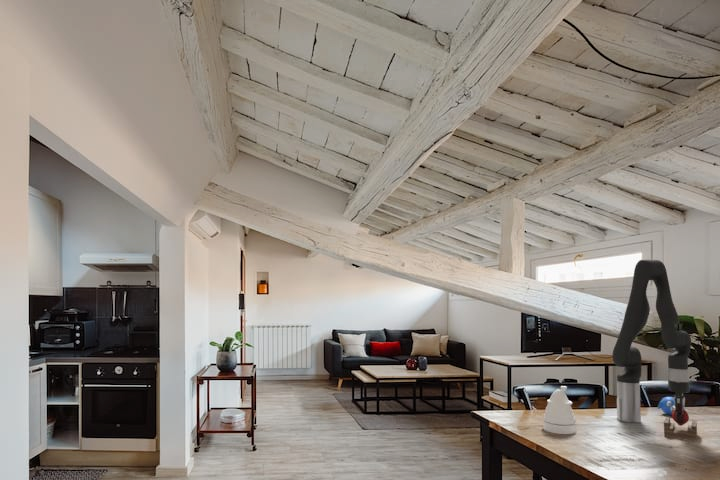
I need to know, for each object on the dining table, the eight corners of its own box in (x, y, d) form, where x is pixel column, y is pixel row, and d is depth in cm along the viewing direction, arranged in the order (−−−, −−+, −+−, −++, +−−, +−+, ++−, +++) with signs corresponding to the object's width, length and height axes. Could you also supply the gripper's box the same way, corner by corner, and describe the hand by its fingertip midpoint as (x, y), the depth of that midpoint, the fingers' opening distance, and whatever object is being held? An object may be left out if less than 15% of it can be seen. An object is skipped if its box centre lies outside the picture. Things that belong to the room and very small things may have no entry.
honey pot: (576, 428, 225) (576, 385, 226) (575, 435, 213) (574, 389, 215) (545, 424, 230) (544, 382, 232) (541, 431, 218) (541, 387, 220)
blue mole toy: (663, 417, 248) (662, 399, 249) (654, 412, 260) (653, 394, 261) (691, 419, 246) (690, 400, 247) (680, 413, 258) (679, 395, 259)
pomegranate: (687, 424, 218) (686, 404, 219) (690, 428, 213) (689, 407, 213) (671, 423, 220) (670, 403, 221) (674, 426, 214) (673, 406, 215)
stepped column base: (696, 441, 208) (695, 426, 208) (664, 436, 214) (663, 422, 214) (697, 434, 218) (696, 421, 218) (666, 430, 224) (665, 417, 224)
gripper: (669, 376, 226) (670, 417, 224) (666, 380, 214) (668, 423, 212) (689, 378, 222) (691, 419, 220) (688, 383, 210) (690, 426, 208)
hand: (680, 421), depth 216 cm, fingers closed on pomegranate, 6 cm apart
